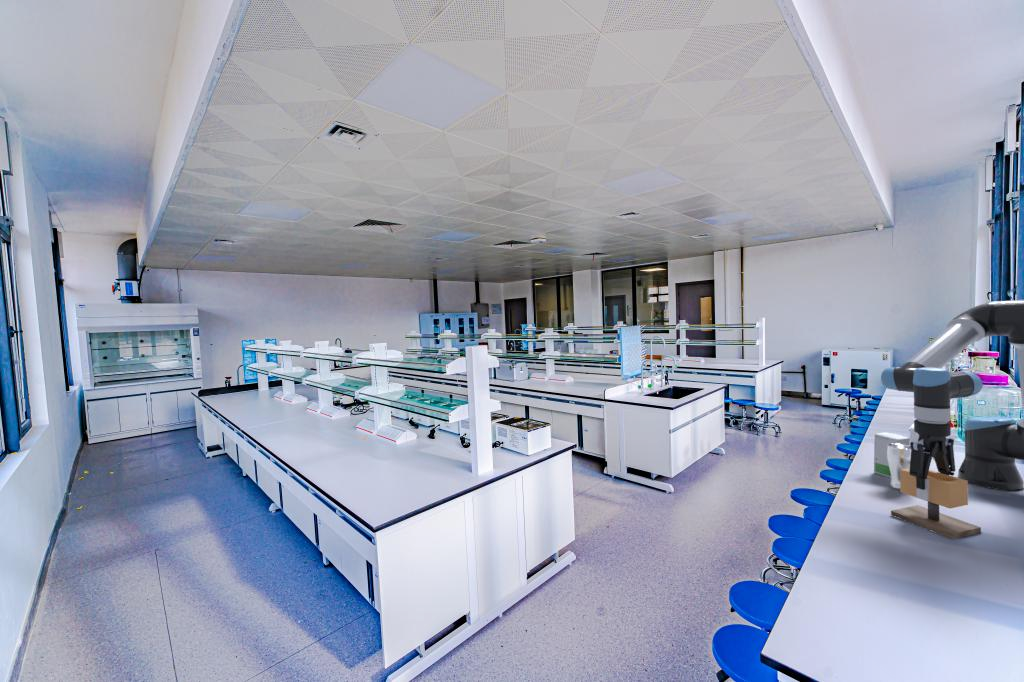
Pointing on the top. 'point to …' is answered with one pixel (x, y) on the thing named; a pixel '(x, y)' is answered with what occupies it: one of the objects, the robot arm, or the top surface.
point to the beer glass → (898, 461)
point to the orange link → (938, 488)
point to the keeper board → (936, 521)
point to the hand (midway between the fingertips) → (932, 497)
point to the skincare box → (885, 450)
